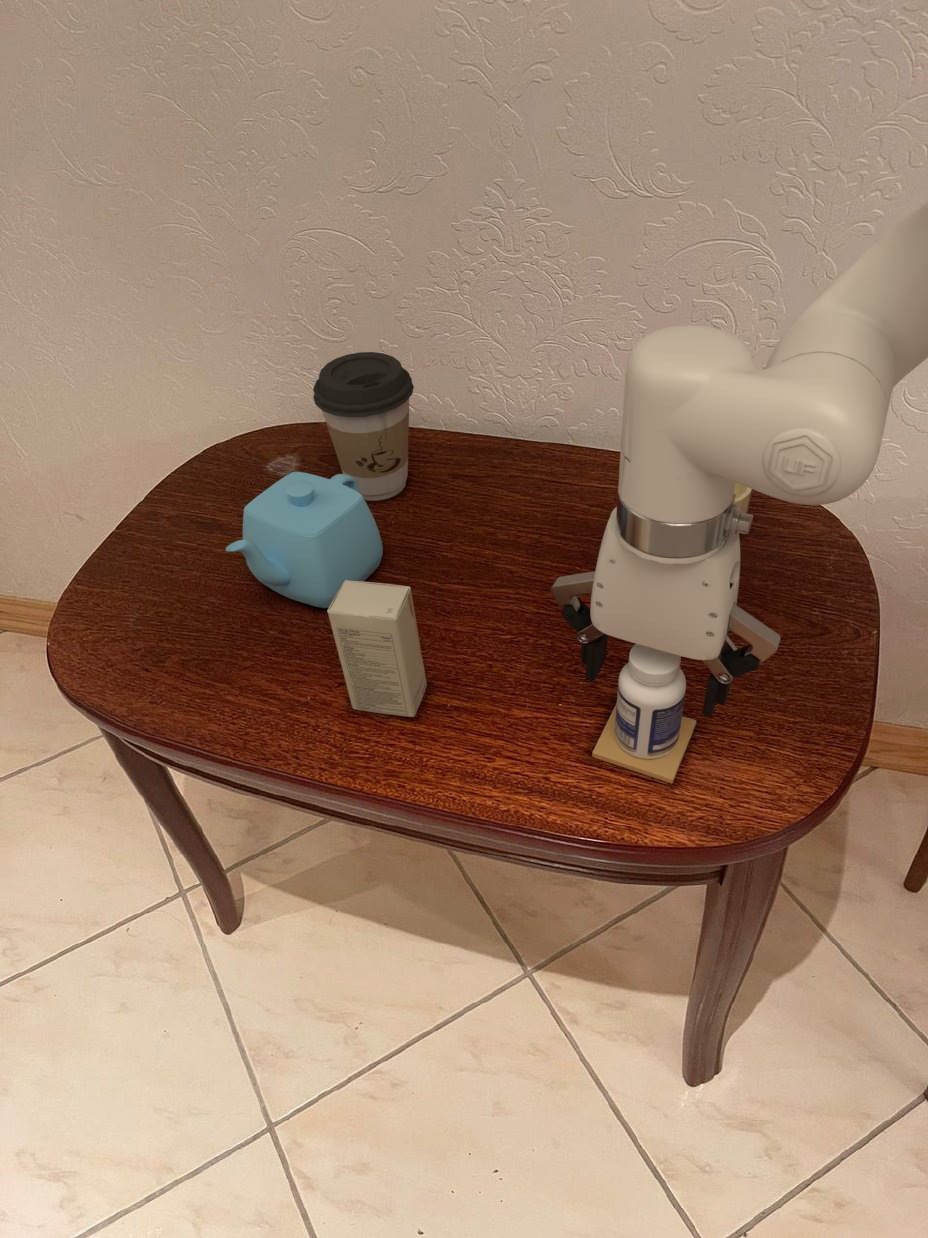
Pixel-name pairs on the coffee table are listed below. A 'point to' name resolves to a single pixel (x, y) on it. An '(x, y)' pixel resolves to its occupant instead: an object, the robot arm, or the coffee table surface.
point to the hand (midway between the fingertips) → (652, 686)
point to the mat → (654, 768)
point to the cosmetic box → (379, 647)
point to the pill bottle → (649, 703)
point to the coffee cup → (368, 419)
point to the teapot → (310, 537)
